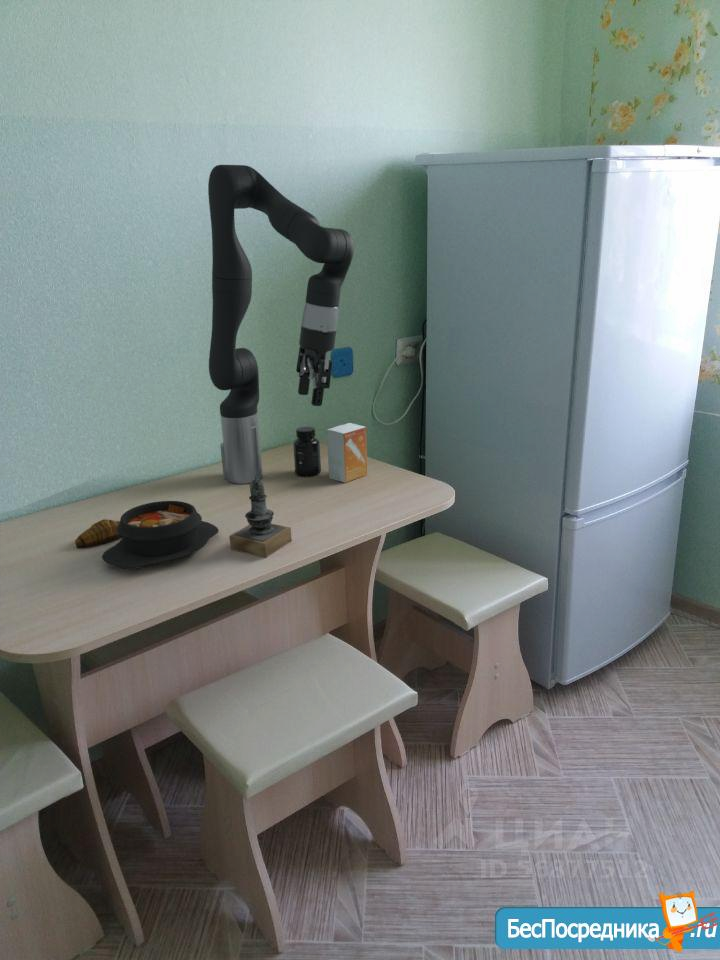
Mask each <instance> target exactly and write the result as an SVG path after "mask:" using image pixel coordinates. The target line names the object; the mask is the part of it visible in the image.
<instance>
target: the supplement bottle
mask: <svg viewBox="0 0 720 960" xmlns="http://www.w3.org/2000/svg"><path fill="white" fill-rule="evenodd" d="M295 430H296V431H295V432H296V435H295V437H296V439H294V440H293V445H292V447H293V448H292V449H293V460H294V461H293V463H294V473H295V474H296V476H298V477H302V478H313V477H316V476H319V475H320V474H321V473H322V462H321V459H322V458H321V457H322V456H321V443H320V440H319V439H318V438H317V437H316V435H317V434H316V429H315V427H314V426H301V427H297V428H296V429H295Z"/></svg>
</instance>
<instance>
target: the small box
mask: <svg viewBox="0 0 720 960" xmlns="http://www.w3.org/2000/svg"><path fill="white" fill-rule="evenodd" d="M326 437H327V438H326V439H327V440H326V442H327V462H328V463H327V464H328V478H329V479H333V480H335V481H338V482H342V483H343V484H344V483H345V484H346V483H348V482H351V481H355V480H357V479H360V478H363V477H366V476H368V447H367V445H368V444H367V443H368V442H367V427H366V426H363V425H359V424H357V423H354V422H353V423H352V422H348V423H347V422H346V423H345V424H339V425H337V426H334V427H331V428H328V429H326Z"/></svg>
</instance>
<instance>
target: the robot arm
mask: <svg viewBox="0 0 720 960" xmlns="http://www.w3.org/2000/svg"><path fill="white" fill-rule="evenodd" d="M207 185H208V188H207V189H208V190H207V191H208V205H209V217H210V226H211V242H212V244H211V248H212V249H211V251H212V254H211V255H212V262H211V263H212V264H211V266H212V268H211V269H212V270H211V276H212V277H211V294H212V312H211V313H212V316H211V322H212V323H211V337H210V346H209V354H208V355H209V359H208V373H209V378H210V381H211V383H212V384H213V386H214V387H215V388H216V389H218V390H220V391H229V393H228V395H227V396H226V397H225V398H224V399H223V400H222V401H221V402H220V405H219V412H220V421H221V422H220V425H221V433H222V442H221V443H220V446H219V447H220V456H221V463H222V472H223V473H222V474H223V475H222V476H223V480H226V481H227V482H229V483H231V484H239V485H240V484H241V485H242V484H250V483H251V481H253V480H254V479H255V476H257V477H258V478H257V479H259V480H261V479H263V463H262V462H263V461H262V451H261V450H262V449H261V438H260V427H259V425H260V424H259V415H258V414H259V413H258V405H259V401H260V378H259V366H258V363H257V359H256V357H255V355H254V353H253V352H252V351H251V350H250V349H248V348H244V347H237V346H236V345H237V336H238V332H239V329H240V326H241V324H242V322H243V319H244V318H245V315H246V313H247V311H248V308H249V306H250V304H251V300H252V295H253V289H252V288H253V270H252V269H253V268H252V265H251V263H250V260H249V258H248V256H247V254H246V252H245V250H244V248H243V246H242V245H241V243H240V241H239V239H238V235H237V232H236V223H235V221H236V220H235V210H236V209H237V210H239V209H242V210H243V209H248V208H249V209H254V210H257V211H259V212H261V213H264V214H265V215H266V216H267V218H268V220H269V224H270V225H271V227H272V228H273V229H274V230H275V232H277V233H278V234H279V235H281V236H282V237H284V238H285V239H286V240H287V241H290V242H291V243H292V244H295V246H296V247H297V248H298V249H299V251H300V252H301V253H302V254H303V255H304V257H306V258H307V259H309V260H310V261H312V262H315V263H317V264H323V265H322V268H321V270H320V272H318V273H315V274H313V275H311V276H310V277H309V278H308V280H307V286H306V287H307V288H306V296H305V302H304V303H305V304H304V307H303V312H302V316H301V317H302V318H301V326H300V333H299V340H298V344H299V348H298V349H299V350H298V355H297V356H298V357H297V362H296V370H295V371H296V373H298V377H299V382H298V389H297V393H298V395H299V396H308V394H309V391H310V381H311V380H312V384H313V388H312V395H311V401H310V404H311V405H312V406H313V407H321V406H322V405H323V399H324V393H325V390H326V389H330V386H331V377H332V370H333V369H332V368H333V360H332V359H327V353H328V352H332V351H333V350H335V343H336V339H337V338H336V336H337V331H338V322H339V306H340V297H341V290H342V286H343V284H344V281H345V279H346V277H347V274H348V271H349V269H350V266H351V263H352V261H353V259H354V258H353V257H354V252H355V246H354V245H355V244H354V241H353V238H352V235H351V234H350V233H349V232H348V231H347V230H346V229H341V228H333V227H332V228H331V227H325V226H322V225H320V221H319V220H318V219H317V217H316V216H315V215H314V214H312V213H310V212H309V211H308V210H306V209H304V208H303V207H301V206H300V205H298V204H295V202H293V201H291V200H290V199H288V198H287V197H286V196H284V195H283V194H282V192H280V191H279V190H278V189H276V188H275V186H273V185H272V184H271V183H270V182H269V181H268V180H267V179H266V178H265V177H264V176H263V175H262V174H261V173H260V172H258V170H256V169H255V168H253V167H252V166H249V165H245V164H244V165H243V164H217V165H215V166H213V168H212V169H211V171H210V173H209V177H208V184H207Z"/></svg>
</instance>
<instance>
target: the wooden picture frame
mask: <svg viewBox="0 0 720 960" xmlns="http://www.w3.org/2000/svg"><path fill="white" fill-rule="evenodd" d="M269 525H270V526H272V527H273V528H274V531H273V532H271V533H269V534H267V535H261V536H256V535H251V534H249V533H248V530H249V529H250V528H251V527H252V526H251V525H250V524H249V523H248V525H246V526H244V527H242V528H241V529H239V530H237V531H235V532H234V533H232V534H230V535H229V536H228V537H229V545H230V546H229V547H230V550H232V551H236V552H240V553H244V554H249V555H253V556H257V557H258V556H259V557H262V558H268V557H270V556H271V555H272V554H274V553H275V552H277V551H278V550H280V549H281V548H283V547H284V546H286V545H288V543H291V542H292V541H293V540H292V539H293V538H292V529H291V528H292V527H289V526H285V525H281V524H275V523H272V522H271V523H270V524H269Z"/></svg>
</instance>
